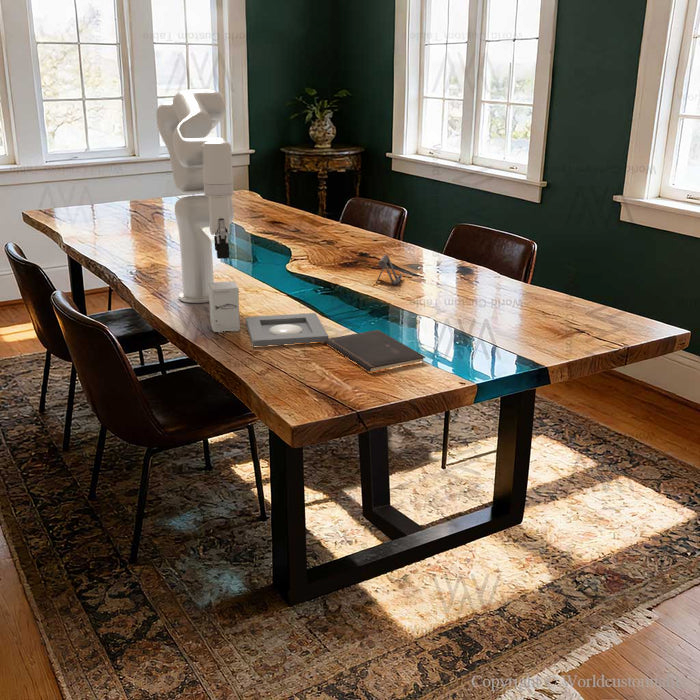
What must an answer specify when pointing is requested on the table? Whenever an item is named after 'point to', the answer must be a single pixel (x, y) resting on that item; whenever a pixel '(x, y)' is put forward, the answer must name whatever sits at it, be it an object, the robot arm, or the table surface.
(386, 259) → the portable electronic device stand
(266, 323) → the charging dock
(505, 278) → the table surface
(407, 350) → the hardcover book
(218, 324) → the supplement box
